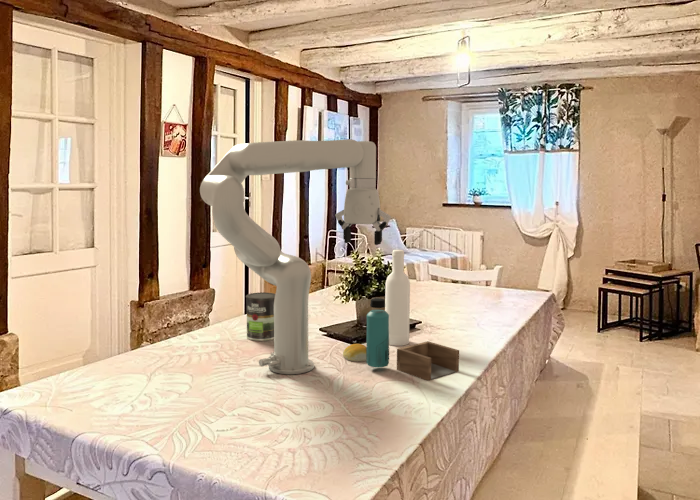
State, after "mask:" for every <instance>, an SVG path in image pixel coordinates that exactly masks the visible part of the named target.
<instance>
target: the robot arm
mask: <svg viewBox="0 0 700 500" xmlns="http://www.w3.org/2000/svg"><path fill="white" fill-rule="evenodd" d="M342 168H343V169H344V168H349V179H348V180H346V181H345V185H346V186H348V188H349V189H346V193H345V199H344V208H343V210H341V211H339V212H337V213H335V215H334V216H335V219H336V220H337V224H338V225H339V226H340V227H341V230H342V231H343V233H342V235H343V238H342V239H343V241H344V243H345V244H348V243H351V242H352V229H351V228H350V227H351V226H352V225H372V226H373V227H374V229H375V231H374V242H373V243H374V245H375V246H378V245H381V243H382V241H383V231H384V229H385V228H386V227H387V226H389V225H388V224H389V222H390V220H391V218H392V216H391V215H390V214H389V213H386V212H385V211H383V210H382V209H381V201H380V195H379V189H377V188H376V185H377V184H376V183H377V182H376V181H377V171H376V170H377V146H376V144H375V142H373V141H369V140H368V141H367V140H365V141H364V140H361V141H360V140H358V141H357V140H355V139H351V138H350V139H349V138H347V139H346V138H344V139H335V140H333V139H332V140H331V139H330V140H301V139H300V140H297V139H296V140H279V141H260V142H258V141H257V142H248V143H246V142H244V143H238V144H236V145H234V146H233V147H231V148H230V150H229V151H227V152H226V154H225V155H224V156H223V157H222V158H221V159H220V160H219V161H218V162H217V164H216V165H215V166H214V167H213V168H212V169H211V170H210V171H209V173H208V174H206V176H205V177H204V178H203V179H202V181H201V183H200V187H199V193H200V198H201V200H202V201H203V202H204V203H205V204H207V205H208V206H211V208H212V209H211V211H212V218H213V223H214V226H215V228H216V230H217V231H218V233H219V235H220V236H221V237H222V238H224V239H225V241H227V243H229V244H230V245H231V246H233V251H234V253H235V255H236V257H237V258H238V259H239V260H240V262H242V263H243V264H244V265H245V266H247V267H248V268H249V269H250V271H252V272H254V273H255V274H256V275H258V276H259V277H260V278H262V279H263V280H264V281H265V282H267V283H268V284H270V285H273V286H276V290H275V293H274V294H275V299H274V339H273V345H274V346H273V348H274V349H273V352H271V353H270V356H268V358H262V359H259V360H258V365H259V366H260V367H265V366H268V369H269V371H271V372H273V373H276V374H282V375H299V374H304V373H307V372H310V371H312V370H313V369H314V367H315V363H314V361H313V360H312V359H309V294H310V288H311V283H312V282H311V281H312V271H311V268H310V266H309V263H307V262H306V261H305V260H304V259H302V258H301V257H299V256H296V255H292V254H287V253H285V252H283V251H282V250H281V246H280V244H279V242H278V240H277V239H276V238H275V237H274V236H273V235H271V234H270V233H269V232H268V231H266V229H264V228H263V227H261V225H259V224H258V223H257V222H256V221H255V220H253V219H252V218H251V217H250V216H249V214H248V213H247V212H246V210H245V209H246V208H245V205H244V202H245V201H244V200H245V188H244V186H243V184H242V183H243V182H244V180H246V178H247V177H248V176H267V175H275V174H277V175H278V174H279V175H280V174H289V173H290V174H291V173H304V172H310V171H318V170H319V171H320V170H329V169H330V170H331V169H342ZM381 217H382V218H383V221H382V222H381Z"/></svg>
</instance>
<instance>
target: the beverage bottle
mask: <svg viewBox="0 0 700 500" xmlns="http://www.w3.org/2000/svg"><path fill="white" fill-rule="evenodd" d="M369 304H370V306H369V307H370V308H373V309H371V310H370V311H369V312H367V314H366V339H365V341H366V357H367V358H366V359H367V361H366V364H367V366H369V367H372V368H385V367H387V366H389V364H390V345H389V331H390V330H389V314H388V313H387V312H386V311H385V310H384V309H383V308H385V298H379V297H377V298H371V299H370V303H369ZM374 308H376V309H374Z"/></svg>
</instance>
